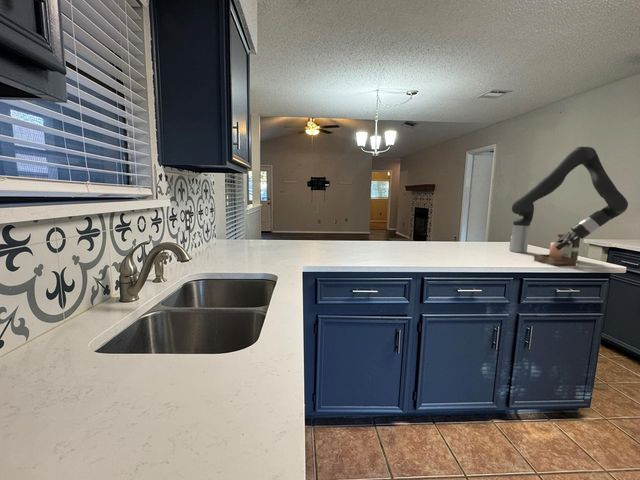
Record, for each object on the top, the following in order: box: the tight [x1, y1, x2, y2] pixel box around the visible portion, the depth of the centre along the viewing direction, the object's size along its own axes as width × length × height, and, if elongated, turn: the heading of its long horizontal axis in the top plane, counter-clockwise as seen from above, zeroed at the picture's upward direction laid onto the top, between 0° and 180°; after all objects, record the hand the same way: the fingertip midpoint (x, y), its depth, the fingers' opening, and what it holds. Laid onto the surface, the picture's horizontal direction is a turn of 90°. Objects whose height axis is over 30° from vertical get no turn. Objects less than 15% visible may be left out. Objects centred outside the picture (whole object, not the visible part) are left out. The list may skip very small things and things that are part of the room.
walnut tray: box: [533, 253, 578, 267], centre depth 172 cm, size 13×13×4 cm
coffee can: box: [557, 234, 581, 262], centre depth 181 cm, size 10×10×14 cm
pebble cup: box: [548, 241, 563, 259], centre depth 172 cm, size 6×6×10 cm
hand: (555, 247), depth 171 cm, fingers open, 8 cm apart
